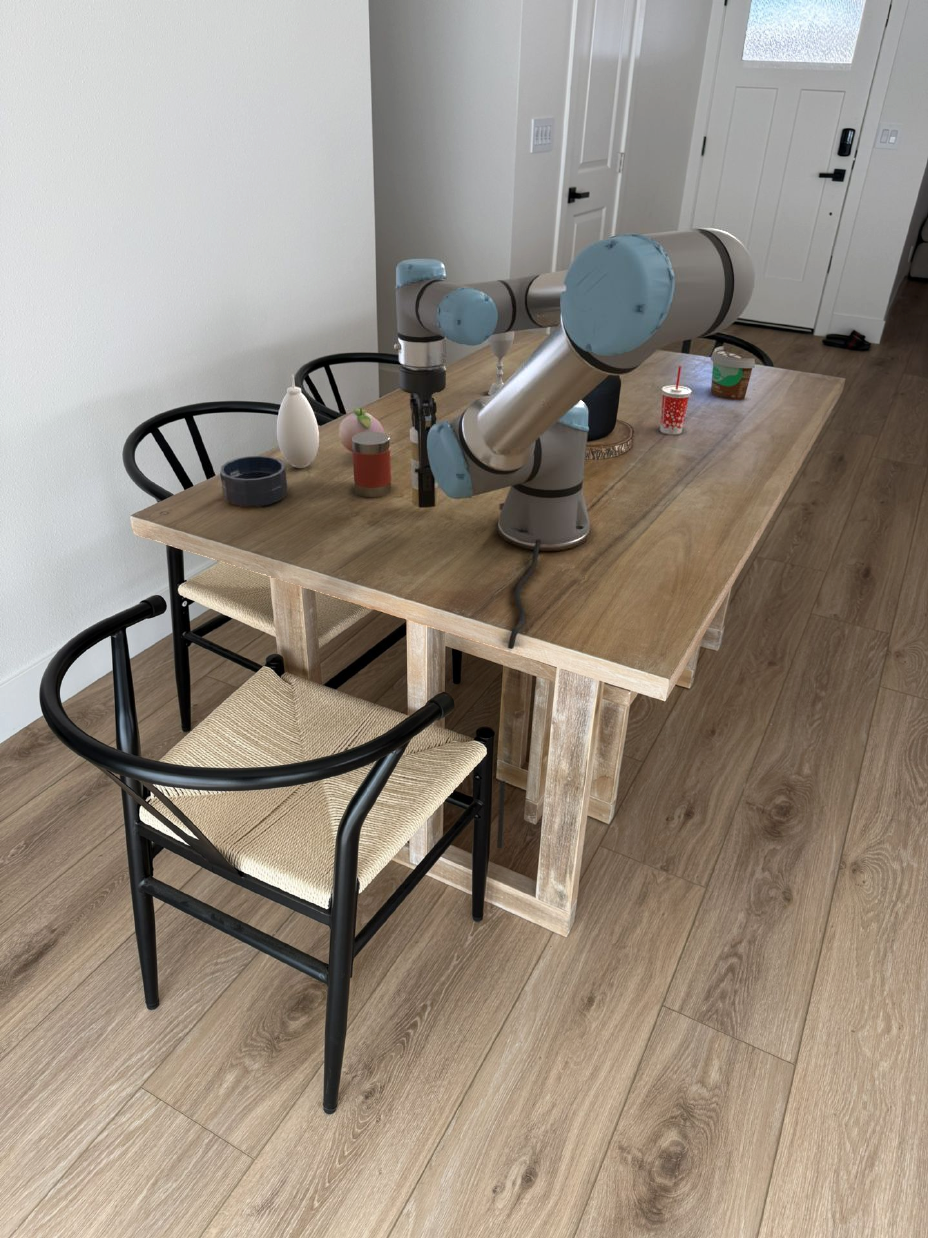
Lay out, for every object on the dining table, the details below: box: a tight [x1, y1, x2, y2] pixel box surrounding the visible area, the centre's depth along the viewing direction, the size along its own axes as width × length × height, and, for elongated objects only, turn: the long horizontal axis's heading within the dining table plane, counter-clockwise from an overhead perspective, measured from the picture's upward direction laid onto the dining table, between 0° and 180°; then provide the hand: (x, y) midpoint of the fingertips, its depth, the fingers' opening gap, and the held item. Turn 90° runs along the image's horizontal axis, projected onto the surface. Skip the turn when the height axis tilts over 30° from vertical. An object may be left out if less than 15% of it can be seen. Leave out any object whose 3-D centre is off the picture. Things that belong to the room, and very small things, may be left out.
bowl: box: [219, 455, 289, 508], centre depth 158 cm, size 11×11×6 cm
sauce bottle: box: [276, 373, 320, 469], centre depth 166 cm, size 8×8×18 cm
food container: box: [710, 345, 756, 401], centre depth 210 cm, size 12×6×10 cm, turn 25°
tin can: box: [351, 431, 392, 498], centre depth 159 cm, size 7×7×10 cm
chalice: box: [487, 331, 515, 396], centre depth 206 cm, size 7×7×18 cm
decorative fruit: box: [338, 407, 385, 453], centre depth 173 cm, size 9×8×10 cm
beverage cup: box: [659, 365, 692, 435], centre depth 187 cm, size 6×6×14 cm
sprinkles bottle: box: [409, 426, 439, 509], centre depth 149 cm, size 5×5×13 cm
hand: (424, 499), depth 152 cm, fingers closed on sprinkles bottle, 4 cm apart
